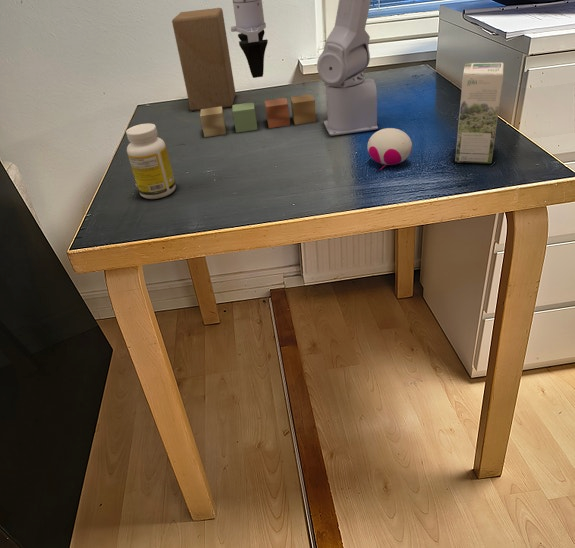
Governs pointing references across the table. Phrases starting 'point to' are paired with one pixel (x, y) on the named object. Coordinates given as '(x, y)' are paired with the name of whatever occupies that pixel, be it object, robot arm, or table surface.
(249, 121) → the pale green cube
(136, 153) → the pill bottle
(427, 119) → the table surface
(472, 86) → the syrup box
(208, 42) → the wooden block
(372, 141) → the stress ball
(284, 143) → the table surface
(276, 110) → the block line
